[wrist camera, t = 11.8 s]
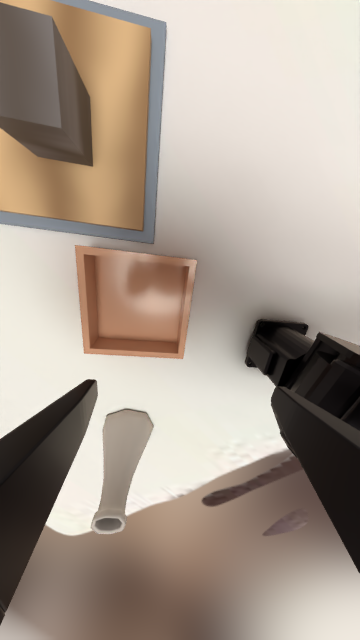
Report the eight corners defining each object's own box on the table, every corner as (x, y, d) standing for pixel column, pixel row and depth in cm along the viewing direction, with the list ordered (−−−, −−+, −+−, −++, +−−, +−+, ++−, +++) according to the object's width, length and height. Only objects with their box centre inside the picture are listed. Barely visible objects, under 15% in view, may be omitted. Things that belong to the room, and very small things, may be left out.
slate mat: (166, 29, 12) (166, 22, 12) (153, 243, 17) (153, 243, 17) (-63, -35, 11) (-71, -45, 10) (-6, 222, 15) (-10, 222, 15)
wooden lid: (151, 42, 12) (142, -103, 7) (143, 231, 16) (133, 221, 11) (-45, -12, 11) (-223, -238, 6) (0, 211, 15) (-81, 189, 10)
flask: (99, 409, 24) (58, 508, 15) (152, 406, 24) (145, 499, 15) (106, 445, 26) (75, 549, 17) (154, 441, 27) (149, 540, 18)
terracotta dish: (192, 259, 18) (197, 260, 15) (180, 345, 21) (183, 358, 19) (90, 246, 17) (75, 245, 14) (95, 339, 20) (84, 353, 17)
